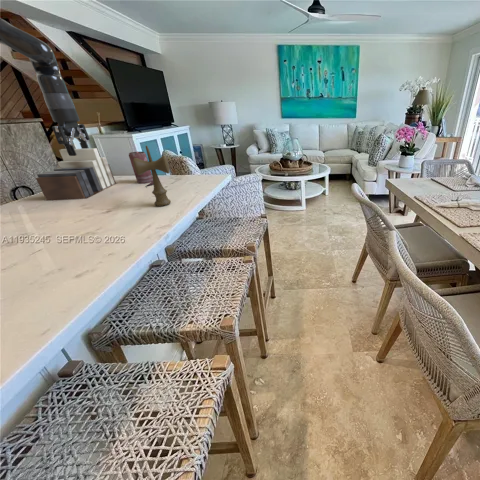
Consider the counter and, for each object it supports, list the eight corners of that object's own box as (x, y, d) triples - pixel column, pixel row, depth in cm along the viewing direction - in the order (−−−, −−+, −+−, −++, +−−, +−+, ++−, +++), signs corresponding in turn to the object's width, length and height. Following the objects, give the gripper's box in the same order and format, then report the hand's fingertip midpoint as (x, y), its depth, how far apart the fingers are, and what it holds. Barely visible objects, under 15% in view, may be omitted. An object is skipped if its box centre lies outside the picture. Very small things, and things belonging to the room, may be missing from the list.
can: (152, 182, 121) (143, 150, 115) (155, 185, 117) (146, 152, 110) (137, 184, 118) (126, 152, 111) (139, 187, 113) (129, 153, 107)
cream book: (75, 188, 108) (58, 149, 101) (79, 186, 110) (62, 149, 103) (107, 186, 109) (93, 149, 102) (110, 185, 111) (96, 148, 104)
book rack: (45, 204, 94) (27, 169, 89) (84, 187, 114) (71, 157, 108) (88, 202, 96) (73, 167, 91) (119, 186, 116) (109, 156, 110)
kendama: (177, 205, 93) (162, 145, 84) (146, 209, 90) (126, 147, 81) (178, 200, 98) (164, 143, 89) (149, 203, 95) (130, 145, 86)
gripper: (63, 107, 102) (81, 151, 109) (34, 107, 89) (56, 157, 97) (85, 107, 103) (101, 151, 110) (59, 107, 90) (79, 156, 98)
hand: (80, 153), depth 103 cm, fingers open, 8 cm apart
